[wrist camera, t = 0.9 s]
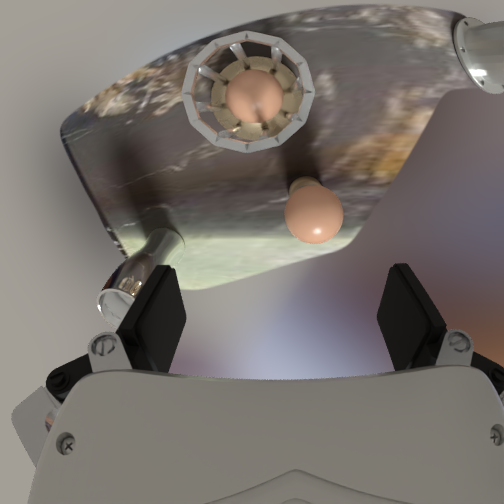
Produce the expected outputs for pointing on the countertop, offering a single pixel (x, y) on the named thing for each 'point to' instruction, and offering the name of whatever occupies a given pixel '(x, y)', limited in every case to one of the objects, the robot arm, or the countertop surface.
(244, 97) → the ball
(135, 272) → the beer glass
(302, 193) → the terracotta ball
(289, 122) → the cage tube
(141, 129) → the countertop surface
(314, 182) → the stand
